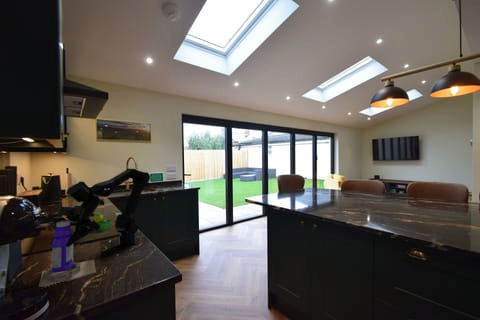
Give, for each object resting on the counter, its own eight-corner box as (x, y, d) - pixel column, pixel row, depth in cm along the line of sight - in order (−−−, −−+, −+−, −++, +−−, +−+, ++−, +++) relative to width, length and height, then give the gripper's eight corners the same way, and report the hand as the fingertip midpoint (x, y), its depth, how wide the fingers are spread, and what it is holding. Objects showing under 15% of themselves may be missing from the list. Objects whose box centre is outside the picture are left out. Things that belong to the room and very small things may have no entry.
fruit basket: (113, 227, 136) (113, 210, 136) (102, 232, 127) (102, 213, 127) (97, 227, 137) (97, 209, 138) (85, 231, 129) (86, 213, 129)
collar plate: (93, 260, 90) (93, 254, 90) (96, 273, 79) (96, 266, 79) (42, 273, 80) (42, 266, 80) (37, 289, 69) (38, 281, 70)
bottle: (57, 265, 80) (57, 220, 80) (75, 262, 82) (75, 218, 82) (48, 275, 73) (49, 225, 73) (68, 271, 76) (68, 223, 76)
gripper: (54, 196, 84) (20, 233, 73) (93, 198, 80) (63, 237, 69) (74, 211, 91) (46, 247, 81) (110, 213, 88) (85, 251, 77)
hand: (59, 245), depth 77 cm, fingers closed on bottle, 7 cm apart
